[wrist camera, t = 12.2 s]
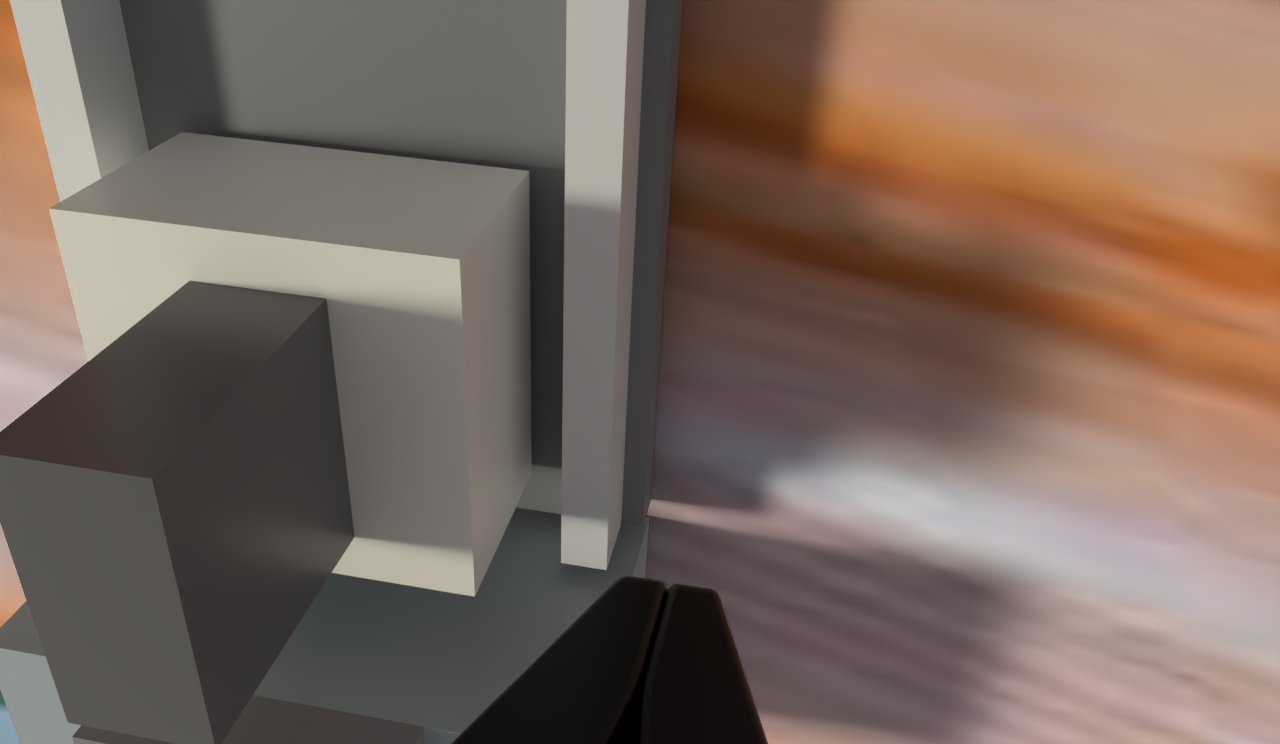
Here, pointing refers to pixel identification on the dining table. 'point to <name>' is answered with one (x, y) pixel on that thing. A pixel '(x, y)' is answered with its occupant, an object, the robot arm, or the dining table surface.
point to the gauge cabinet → (375, 651)
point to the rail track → (434, 130)
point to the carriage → (264, 413)
